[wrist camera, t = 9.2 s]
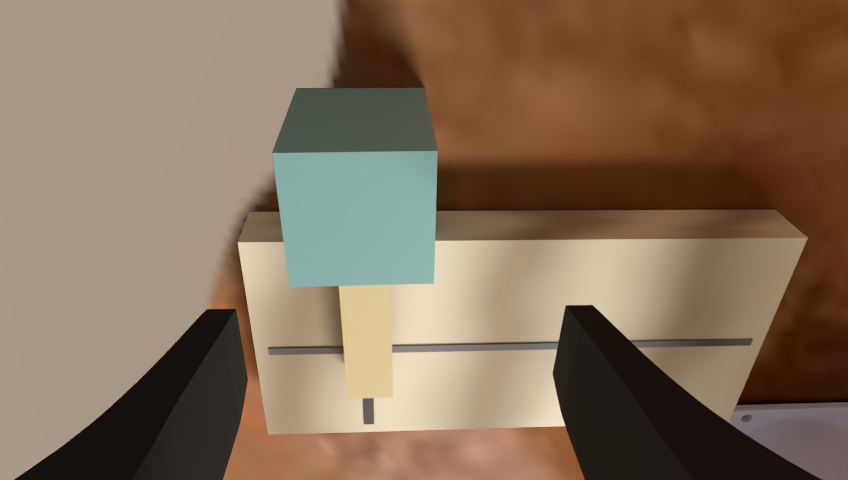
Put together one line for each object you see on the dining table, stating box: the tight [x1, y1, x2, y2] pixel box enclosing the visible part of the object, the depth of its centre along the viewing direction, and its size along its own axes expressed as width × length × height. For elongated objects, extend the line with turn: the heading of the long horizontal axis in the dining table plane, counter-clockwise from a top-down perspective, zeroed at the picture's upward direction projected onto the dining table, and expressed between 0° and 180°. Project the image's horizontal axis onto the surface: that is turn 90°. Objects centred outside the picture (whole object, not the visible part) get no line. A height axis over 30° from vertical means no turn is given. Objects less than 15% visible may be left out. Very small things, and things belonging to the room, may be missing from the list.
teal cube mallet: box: [272, 88, 438, 399], centre depth 19 cm, size 4×10×5 cm, turn 179°
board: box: [238, 209, 808, 435], centre depth 23 cm, size 19×9×2 cm, turn 88°
